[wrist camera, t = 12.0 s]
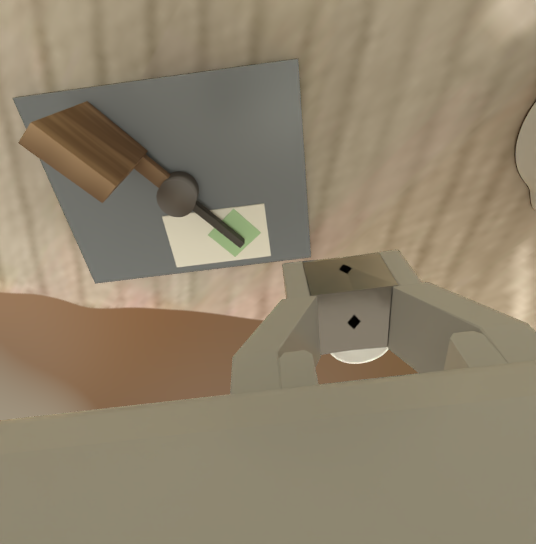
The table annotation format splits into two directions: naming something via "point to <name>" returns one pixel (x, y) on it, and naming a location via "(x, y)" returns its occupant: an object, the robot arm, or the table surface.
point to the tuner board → (193, 171)
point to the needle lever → (111, 161)
